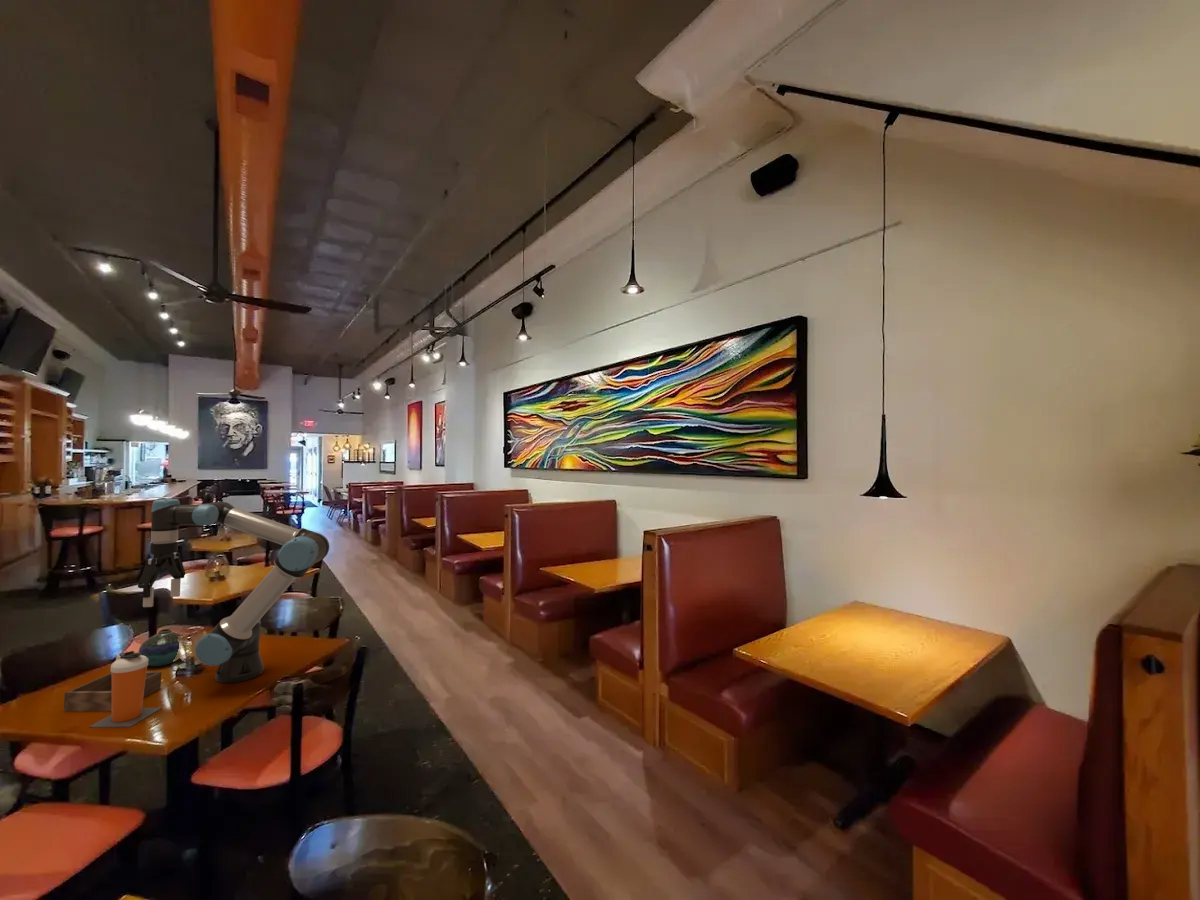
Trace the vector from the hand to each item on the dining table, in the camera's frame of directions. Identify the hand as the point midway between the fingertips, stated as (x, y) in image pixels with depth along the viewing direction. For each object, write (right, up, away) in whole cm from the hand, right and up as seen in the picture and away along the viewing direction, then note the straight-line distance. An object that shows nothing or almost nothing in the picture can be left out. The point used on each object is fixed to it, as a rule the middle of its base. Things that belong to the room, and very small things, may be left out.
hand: (162, 601), depth 178 cm
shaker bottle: (+5, -32, -18) cm, 37 cm away
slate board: (+5, -32, -19) cm, 37 cm away
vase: (-22, -33, +25) cm, 47 cm away
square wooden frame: (-11, -32, -6) cm, 34 cm away
